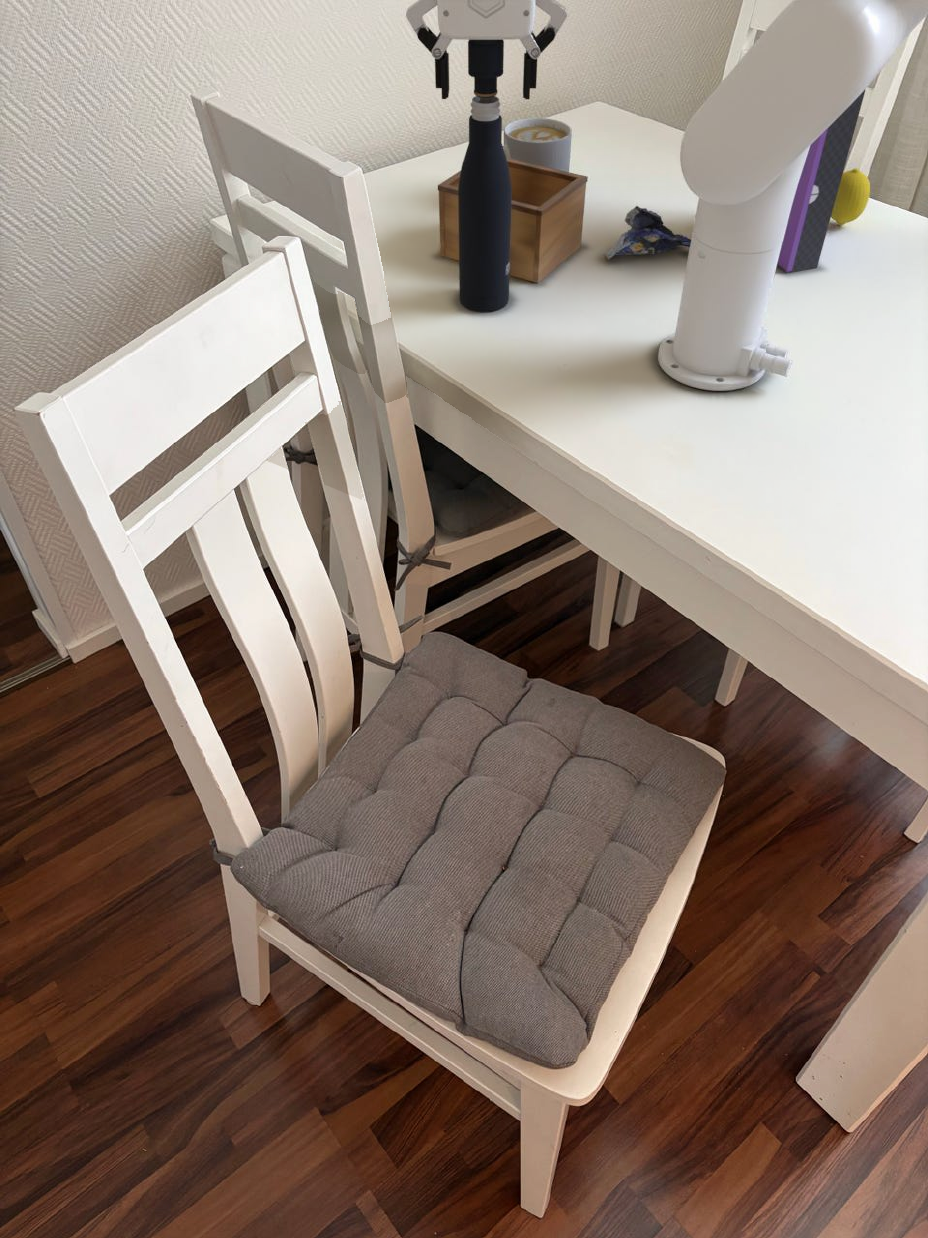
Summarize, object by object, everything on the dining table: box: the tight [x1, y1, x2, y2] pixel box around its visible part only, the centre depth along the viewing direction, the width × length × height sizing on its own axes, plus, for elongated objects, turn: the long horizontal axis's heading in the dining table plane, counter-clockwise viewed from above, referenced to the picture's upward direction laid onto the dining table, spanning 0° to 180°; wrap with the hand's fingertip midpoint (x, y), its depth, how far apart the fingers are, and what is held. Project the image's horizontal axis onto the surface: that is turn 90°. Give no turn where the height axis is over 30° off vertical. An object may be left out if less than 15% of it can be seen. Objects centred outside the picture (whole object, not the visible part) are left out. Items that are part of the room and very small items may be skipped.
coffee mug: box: [502, 117, 573, 173], centre depth 141 cm, size 13×10×10 cm
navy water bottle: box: [458, 40, 512, 313], centre depth 112 cm, size 6×6×30 cm
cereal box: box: [756, 36, 867, 274], centre depth 125 cm, size 17×5×24 cm, turn 18°
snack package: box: [604, 205, 691, 261], centre depth 131 cm, size 12×6×12 cm
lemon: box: [830, 167, 871, 227], centre depth 135 cm, size 6×6×8 cm
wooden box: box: [437, 158, 589, 284], centre depth 129 cm, size 16×13×10 cm
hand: (485, 94), depth 105 cm, fingers open, 8 cm apart
